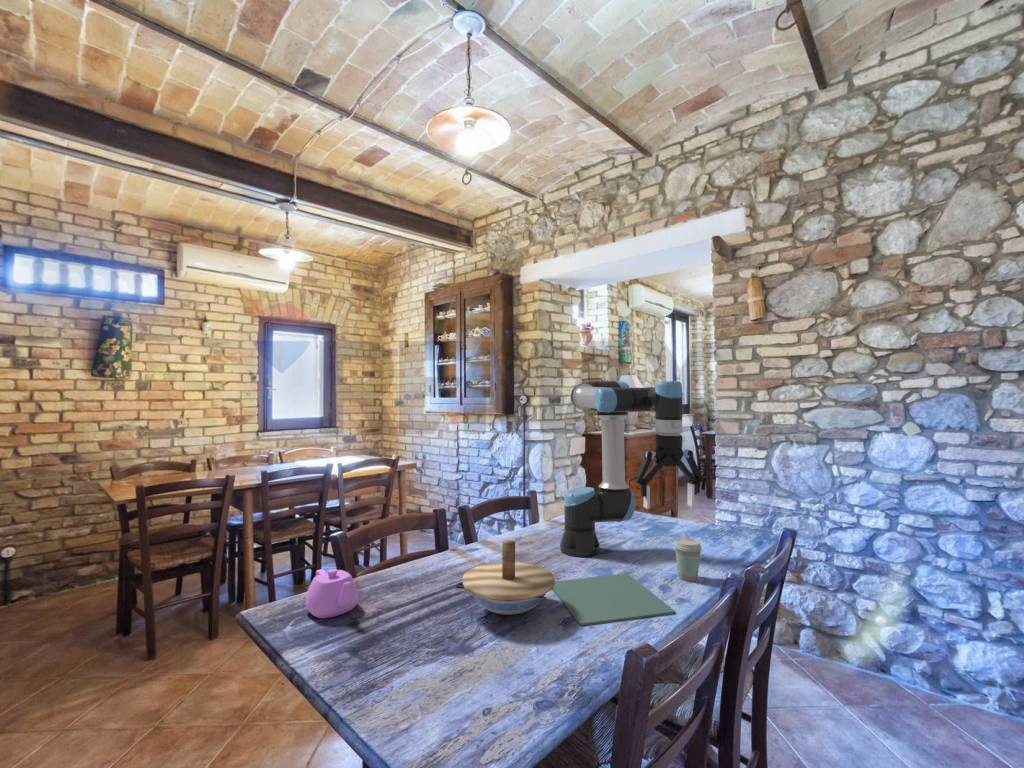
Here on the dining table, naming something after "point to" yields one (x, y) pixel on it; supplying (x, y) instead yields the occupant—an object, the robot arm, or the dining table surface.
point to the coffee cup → (687, 558)
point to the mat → (608, 599)
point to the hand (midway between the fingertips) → (668, 507)
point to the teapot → (331, 593)
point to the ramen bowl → (506, 604)
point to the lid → (508, 578)
